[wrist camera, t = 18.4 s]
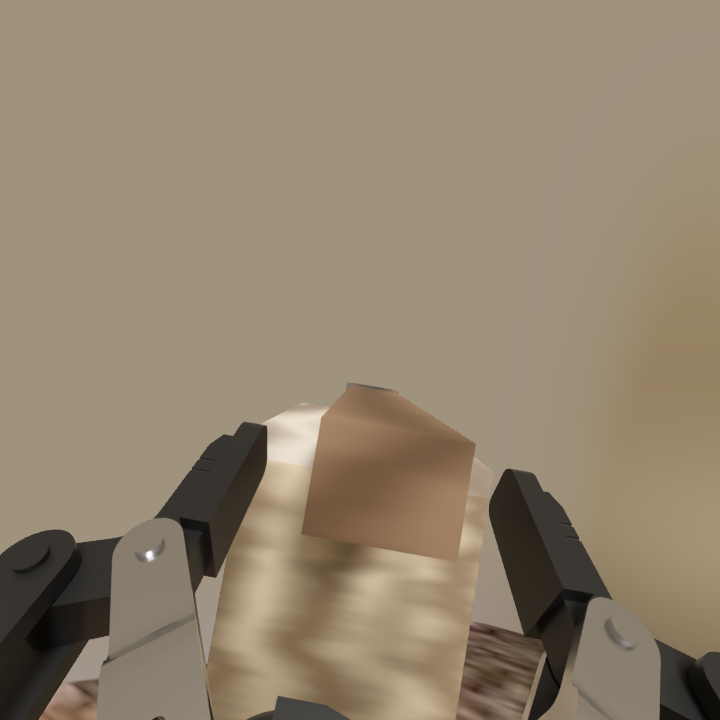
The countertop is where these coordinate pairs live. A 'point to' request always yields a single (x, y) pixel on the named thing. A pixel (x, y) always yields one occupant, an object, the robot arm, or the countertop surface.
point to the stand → (338, 604)
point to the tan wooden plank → (388, 476)
